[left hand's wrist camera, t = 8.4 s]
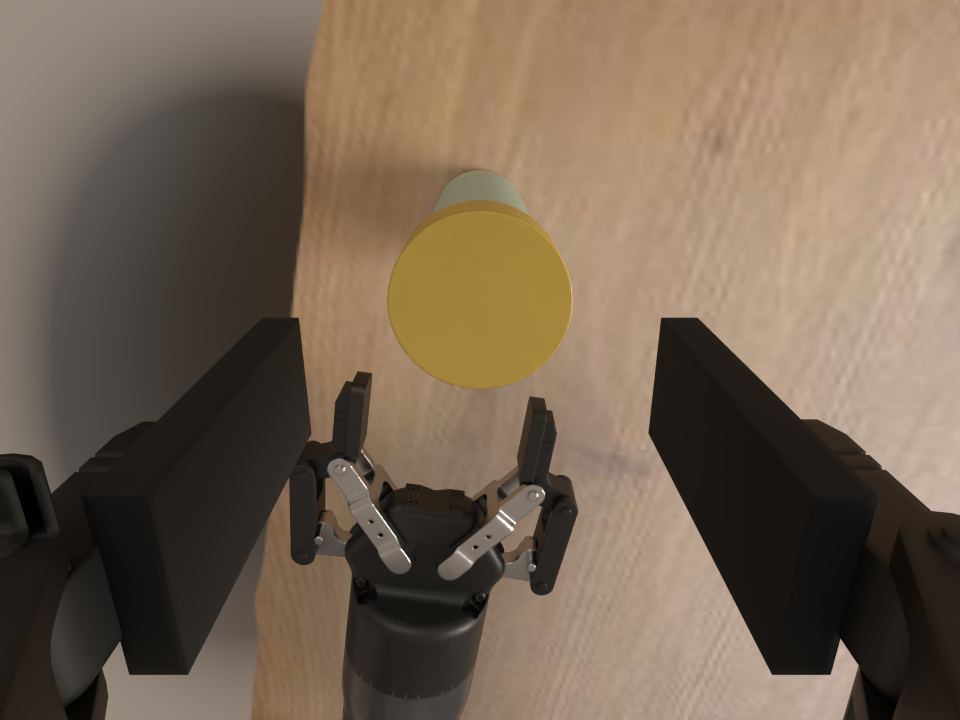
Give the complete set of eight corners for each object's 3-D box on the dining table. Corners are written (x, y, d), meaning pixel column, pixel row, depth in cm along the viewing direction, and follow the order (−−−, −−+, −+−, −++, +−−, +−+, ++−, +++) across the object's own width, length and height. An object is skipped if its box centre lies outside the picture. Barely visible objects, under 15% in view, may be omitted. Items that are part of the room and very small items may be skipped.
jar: (514, 266, 35) (539, 383, 20) (429, 250, 34) (392, 358, 20) (532, 179, 33) (573, 238, 18) (443, 161, 33) (414, 208, 18)
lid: (543, 373, 22) (549, 402, 20) (386, 347, 22) (376, 373, 20) (580, 217, 20) (592, 230, 18) (409, 184, 20) (400, 194, 18)
